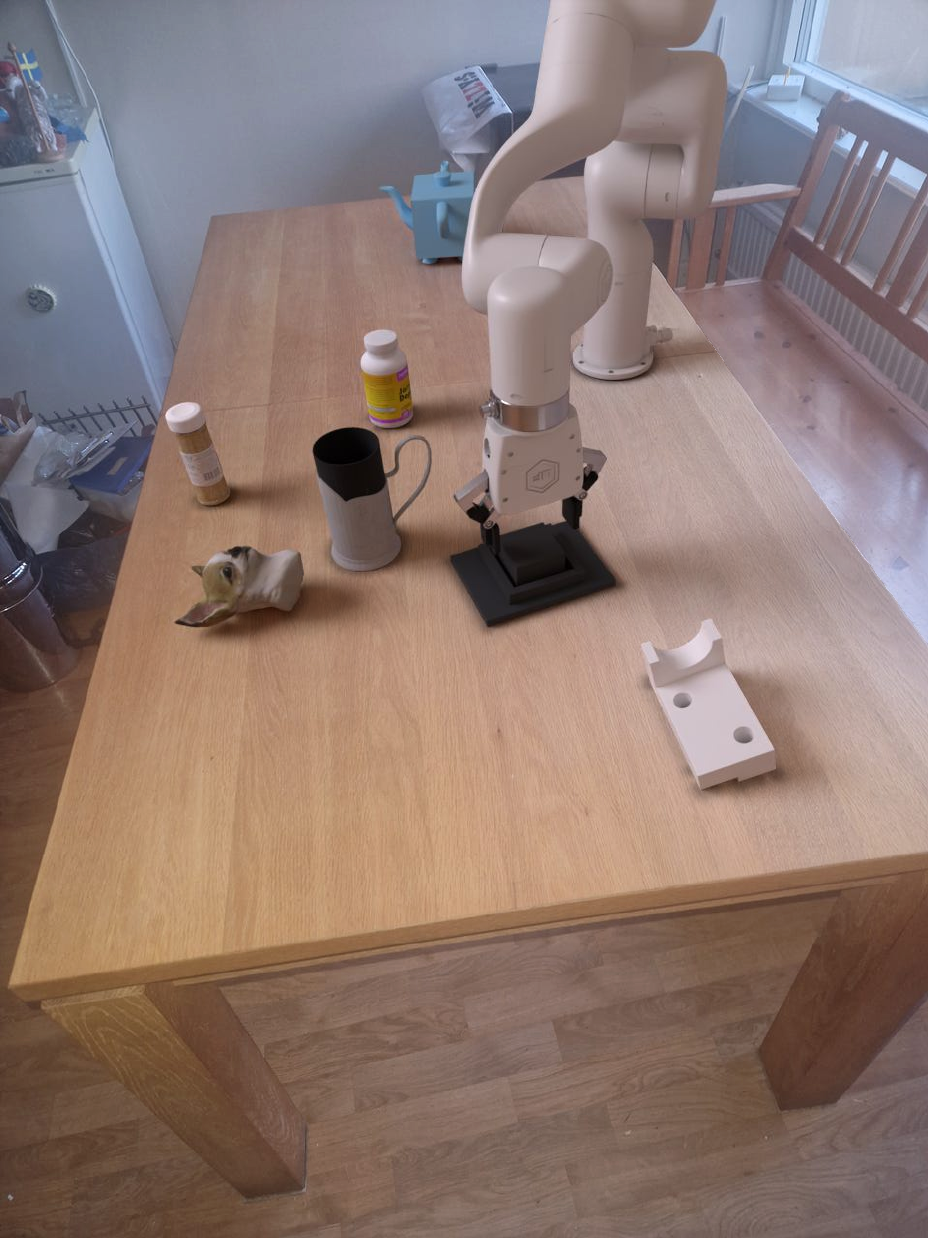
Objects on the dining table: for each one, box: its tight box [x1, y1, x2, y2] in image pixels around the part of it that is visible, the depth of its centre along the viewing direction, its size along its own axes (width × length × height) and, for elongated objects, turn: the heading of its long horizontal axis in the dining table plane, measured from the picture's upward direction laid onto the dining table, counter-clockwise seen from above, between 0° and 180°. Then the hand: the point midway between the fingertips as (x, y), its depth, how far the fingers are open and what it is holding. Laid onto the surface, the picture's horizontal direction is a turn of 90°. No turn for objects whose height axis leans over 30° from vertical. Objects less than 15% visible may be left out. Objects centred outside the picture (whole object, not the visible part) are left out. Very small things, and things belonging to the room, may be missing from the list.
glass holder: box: [312, 426, 433, 572], centre depth 95 cm, size 9×14×15 cm, turn 113°
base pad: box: [449, 520, 617, 628], centre depth 94 cm, size 16×12×2 cm
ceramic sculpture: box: [173, 545, 305, 628], centre depth 91 cm, size 11×9×15 cm
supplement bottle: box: [360, 328, 414, 429], centre depth 115 cm, size 7×7×13 cm
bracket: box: [640, 618, 777, 791], centre depth 75 cm, size 13×7×8 cm, turn 11°
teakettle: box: [378, 160, 476, 265], centre depth 157 cm, size 19×19×15 cm
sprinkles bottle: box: [164, 401, 231, 506], centre depth 104 cm, size 5×5×13 cm
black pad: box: [497, 521, 565, 587], centre depth 92 cm, size 6×6×4 cm
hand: (531, 534), depth 91 cm, fingers open, 9 cm apart
